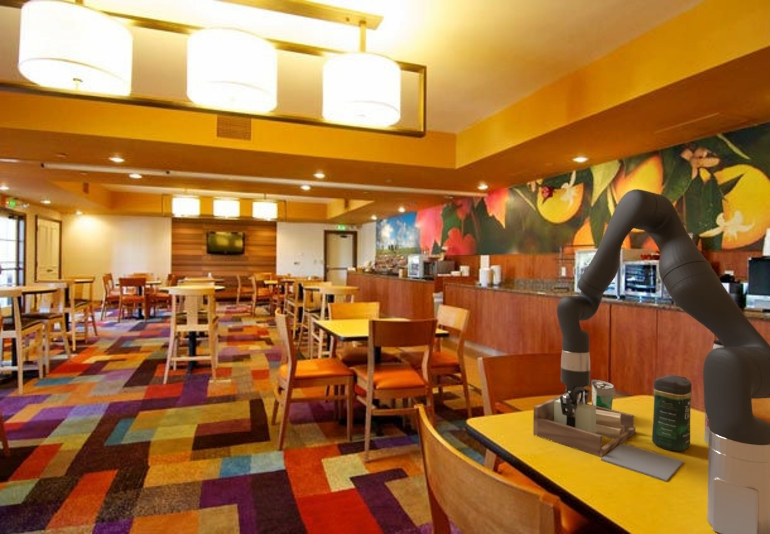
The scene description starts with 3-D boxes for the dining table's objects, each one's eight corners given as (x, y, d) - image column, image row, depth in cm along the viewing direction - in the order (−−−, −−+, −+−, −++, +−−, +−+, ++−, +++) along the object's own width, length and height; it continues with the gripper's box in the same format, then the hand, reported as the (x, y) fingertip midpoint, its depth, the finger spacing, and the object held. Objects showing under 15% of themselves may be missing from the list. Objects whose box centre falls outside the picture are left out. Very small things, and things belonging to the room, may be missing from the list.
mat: (666, 481, 96) (666, 479, 96) (600, 460, 106) (600, 458, 106) (683, 462, 105) (683, 461, 105) (621, 444, 116) (621, 443, 116)
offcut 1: (619, 428, 120) (620, 417, 120) (592, 423, 124) (592, 413, 124) (620, 424, 124) (620, 413, 124) (593, 419, 127) (593, 409, 127)
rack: (602, 457, 108) (602, 425, 108) (533, 434, 122) (533, 406, 122) (635, 432, 124) (636, 405, 124) (571, 415, 138) (571, 390, 138)
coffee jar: (682, 455, 110) (683, 382, 110) (648, 444, 116) (649, 376, 116) (694, 445, 116) (696, 376, 116) (661, 436, 122) (662, 370, 122)
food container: (618, 423, 131) (619, 391, 131) (596, 421, 133) (596, 388, 133) (611, 410, 143) (612, 380, 143) (591, 408, 145) (591, 379, 145)
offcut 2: (619, 441, 119) (619, 430, 119) (588, 433, 124) (588, 423, 124) (624, 436, 122) (624, 425, 122) (594, 428, 128) (594, 418, 128)
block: (589, 443, 116) (590, 410, 116) (553, 432, 123) (554, 401, 123) (595, 439, 119) (596, 406, 119) (560, 429, 126) (560, 398, 126)
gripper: (577, 373, 113) (576, 438, 113) (599, 365, 123) (598, 425, 123) (550, 368, 119) (549, 430, 119) (573, 361, 129) (572, 418, 129)
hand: (574, 427), depth 121 cm, fingers closed on block, 4 cm apart
